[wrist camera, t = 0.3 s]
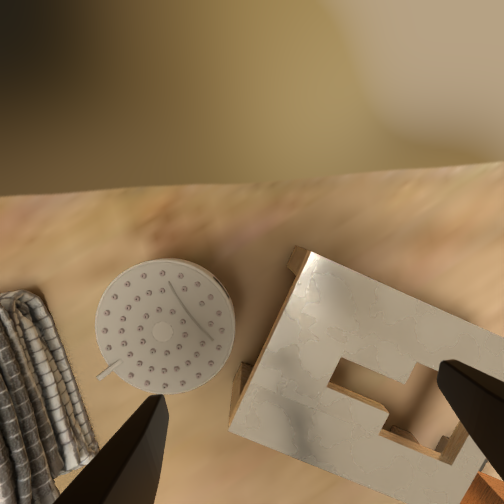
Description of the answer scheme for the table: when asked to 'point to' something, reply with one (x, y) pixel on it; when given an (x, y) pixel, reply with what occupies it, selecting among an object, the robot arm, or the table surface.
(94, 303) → the table surface
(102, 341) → the showerhead
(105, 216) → the table surface
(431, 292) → the table surface
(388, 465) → the keyhole stand
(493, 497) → the peg
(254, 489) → the table surface
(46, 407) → the towel
